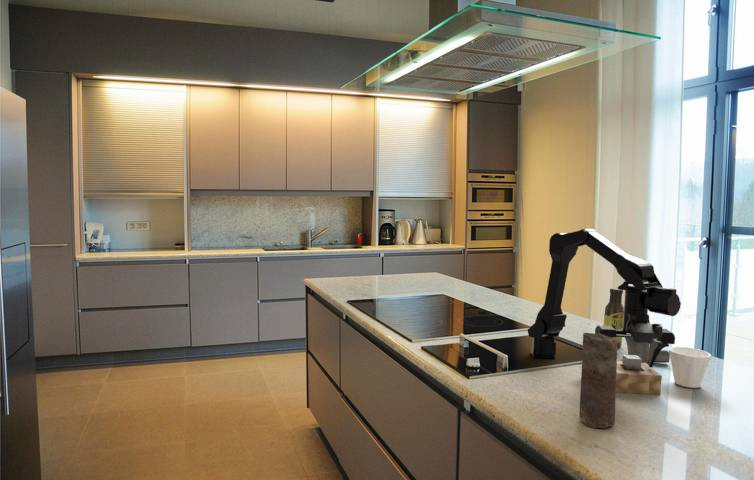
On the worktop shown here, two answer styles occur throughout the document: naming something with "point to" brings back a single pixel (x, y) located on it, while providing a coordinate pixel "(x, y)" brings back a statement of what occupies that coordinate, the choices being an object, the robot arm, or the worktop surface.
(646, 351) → the pipe
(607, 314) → the sauce bottle
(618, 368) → the socket block
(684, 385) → the cup
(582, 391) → the brown stone pillar
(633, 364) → the square bit
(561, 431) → the worktop surface
